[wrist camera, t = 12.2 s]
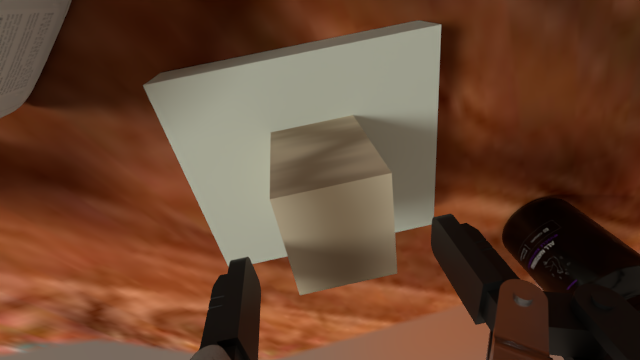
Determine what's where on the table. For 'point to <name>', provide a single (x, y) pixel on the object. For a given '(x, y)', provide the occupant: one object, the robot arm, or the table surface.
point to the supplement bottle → (570, 250)
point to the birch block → (332, 204)
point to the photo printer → (26, 46)
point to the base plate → (302, 123)
